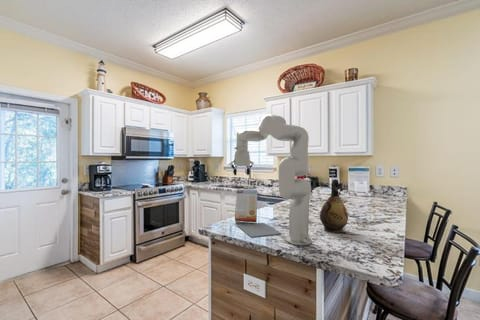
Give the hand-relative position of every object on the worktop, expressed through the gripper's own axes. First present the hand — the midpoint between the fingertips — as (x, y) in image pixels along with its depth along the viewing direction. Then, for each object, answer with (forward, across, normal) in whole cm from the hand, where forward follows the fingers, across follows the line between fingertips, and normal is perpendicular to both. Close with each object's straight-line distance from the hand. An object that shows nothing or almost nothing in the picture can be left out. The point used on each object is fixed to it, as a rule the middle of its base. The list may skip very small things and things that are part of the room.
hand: (241, 174), depth 159 cm
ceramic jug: (+30, +45, -37) cm, 65 cm away
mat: (+30, +2, -24) cm, 39 cm away
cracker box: (+29, 0, -9) cm, 30 cm away
